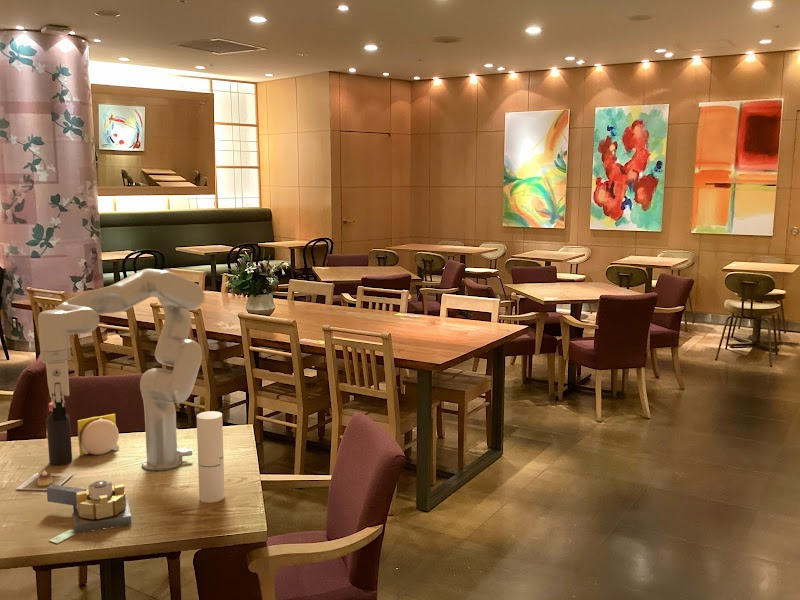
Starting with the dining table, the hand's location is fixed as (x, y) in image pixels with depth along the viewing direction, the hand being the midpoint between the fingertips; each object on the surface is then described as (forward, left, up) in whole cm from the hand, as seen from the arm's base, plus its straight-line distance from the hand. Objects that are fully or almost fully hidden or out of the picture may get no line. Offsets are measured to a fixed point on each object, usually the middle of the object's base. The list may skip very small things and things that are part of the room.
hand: (59, 418), depth 209 cm
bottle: (+1, -33, -25) cm, 42 cm away
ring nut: (-5, +11, -22) cm, 26 cm away
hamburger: (-11, -37, -25) cm, 47 cm away
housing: (-6, +16, -25) cm, 31 cm away
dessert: (+5, -17, -26) cm, 32 cm away
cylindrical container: (-39, +13, -25) cm, 48 cm away
